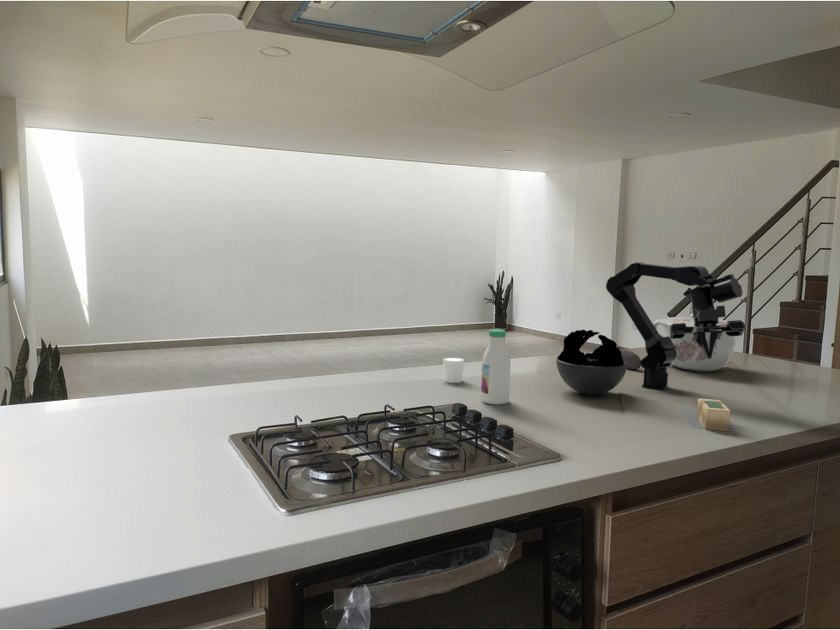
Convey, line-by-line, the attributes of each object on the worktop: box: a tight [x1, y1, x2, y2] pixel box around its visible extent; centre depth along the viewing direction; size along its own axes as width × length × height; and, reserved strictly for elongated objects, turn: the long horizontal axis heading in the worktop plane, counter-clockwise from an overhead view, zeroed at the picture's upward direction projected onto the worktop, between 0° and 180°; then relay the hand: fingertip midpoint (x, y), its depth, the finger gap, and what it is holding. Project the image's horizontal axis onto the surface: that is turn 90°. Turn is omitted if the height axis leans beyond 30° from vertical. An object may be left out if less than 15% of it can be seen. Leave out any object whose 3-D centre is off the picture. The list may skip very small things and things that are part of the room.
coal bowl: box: [555, 329, 628, 396], centre depth 172 cm, size 20×20×19 cm
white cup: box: [442, 357, 465, 384], centre depth 186 cm, size 7×7×7 cm
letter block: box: [696, 398, 731, 432], centre depth 143 cm, size 5×5×10 cm
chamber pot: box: [653, 312, 736, 373], centre depth 214 cm, size 28×28×21 cm
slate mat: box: [681, 408, 740, 433], centre depth 147 cm, size 17×10×1 cm, turn 165°
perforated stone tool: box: [616, 346, 642, 371], centre depth 212 cm, size 15×5×7 cm, turn 24°
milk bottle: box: [480, 328, 511, 406], centre depth 161 cm, size 8×8×20 cm
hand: (709, 358), depth 163 cm, fingers closed
